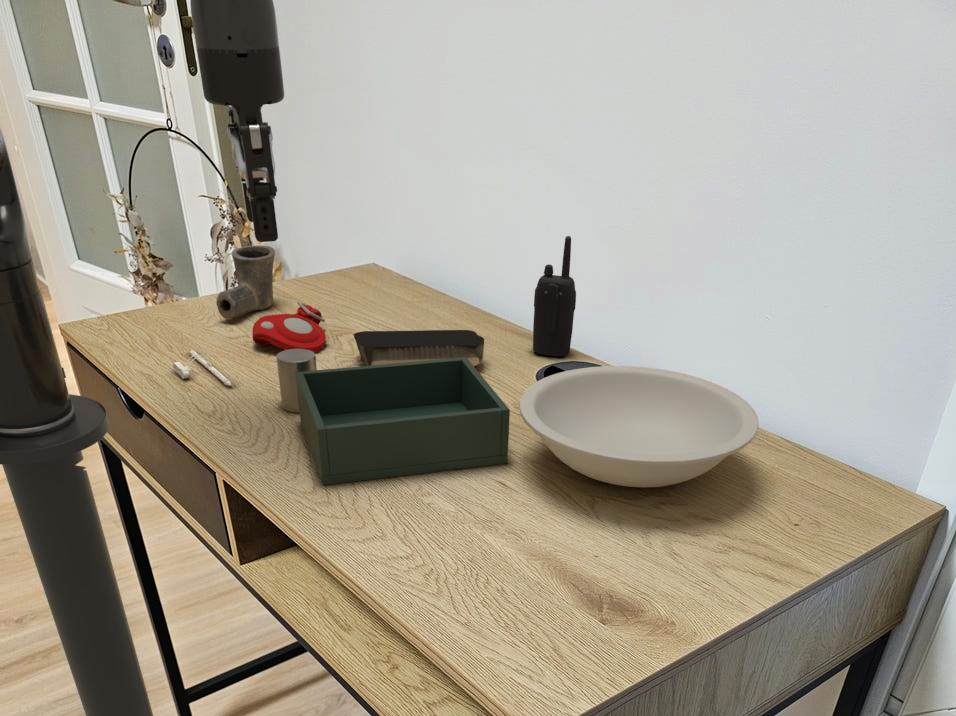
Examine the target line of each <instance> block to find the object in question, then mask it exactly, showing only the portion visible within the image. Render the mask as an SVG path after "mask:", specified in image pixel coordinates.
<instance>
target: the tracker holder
mask: <svg viewBox="0 0 956 716" xmlns="http://www.w3.org/2000/svg"><path fill="white" fill-rule="evenodd" d="M296 304H297V306H298V308H297V310H296V311H297V312H295V313H277V314H276V313H275V314H269V315H263V316H260V317H259V318H258V319H257V320H256V321H255V322H254V323H253V325H252V341H253V342H254V343H255V344H256V345H259V346H266V345H270V344H271V345H274V346H275V347H278V348H280V349H282V350H289V349H306V350H310V351H312V352H314V353H315V354H316V353H318V352H320V351H322V349H324V347H325V343H326V340H327V337H326V332H325V331H324V329H323V328H322V327H321V326H320V324H321V322H322V323H325V322H326V319H325V318H324V317H323V315H322V312H321V311H320V309H318V308H316V307H314V306H312V305H310V304H305V303H303V302H301V301H300V300H298V301H297V302H296Z"/></svg>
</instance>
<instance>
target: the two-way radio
mask: <svg viewBox="0 0 956 716" xmlns="http://www.w3.org/2000/svg"><path fill="white" fill-rule="evenodd" d="M571 253H572V237H571V236H570V235H566V236H565V238H564V245H563V253H562V254H563V255H562V263H561V275H555V274H554V266H553V265H552V264H546V265H545V266H544V269H543V275H541V277H539V279H538V281H537V283H536V287H535V288H534V296H533V298H534V299H533V309H534V310H533V329H532V351H533V352H535V353H536V354H537V355H545V356H554V357H561V358H562V357H564V356H568V355H569V354H570V351H571V344H572V343H571V342H572V335H573V329H574V328H573V327H574V318H575V317H574V316H575V310H576V305H577V291H576V285H575V284H576V283H575V280H574V278H573V277H572V276H570V270H571V258H572V257H571V255H572V254H571Z"/></svg>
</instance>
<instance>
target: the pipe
mask: <svg viewBox="0 0 956 716" xmlns="http://www.w3.org/2000/svg"><path fill="white" fill-rule="evenodd" d="M231 256H232V260H233V265H234V269H235V275H236V282H237V286H236V287H233V288H230V289H226V290H223V291H220V292H219V293H218V294H217V296H216V302H215V303H216V307H217V309H218V313H219V315H221V317H222V318H223V319H227V320H233V319H236V318H239V317H242V316H243V315H246V314H248V313H251V312H254V311H261V310H266V309H268V308H270V307H271V306H272V305H273V302H274V287H273V285H274V284H273V283H274V282H273V275H274V262H275V256H276V250H275V248H273V247H271V246H270V245H260V244H259V245H245V246H241V247H238V248H234V249H233V250H232V251H231Z"/></svg>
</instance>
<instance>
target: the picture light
mask: <svg viewBox="0 0 956 716" xmlns="http://www.w3.org/2000/svg"><path fill="white" fill-rule="evenodd" d="M189 355H190V356H191V357H189V358H188V359H187V362H186V365H185V366H184V365H183V364H182V363H181V362H180V361H176V362H173V364H172V367H173V369H174V372H175V373H177V374H178V375H179V376H180V377H181V378H182V380H184V379H189V378H190V377H191V375H190V373H191V372H192V369H191V365H192V363H193V361H194V360H196V361H198V362H199V363H200V364H201V365H202V366H203V367H204V368H206V370H208V371H209V372H210V373H212V374H213V375H214V376H215V377H216V378H217V379H219V380H220V381H221V382H222V383H223V384H224V385H225V386H227V387H231V386H232V381H231V380H230V379H229V378H227V377H226V376H224V375H223V374H222V373H221V372H220V371H219V370H217V369H216V368H215V367H214V366H213V364H212V363H211V362H210V360H209V359H208V358H206V357H205V356H204V355H202V354H199V353H198V352H196V350H193V349H190V350H189ZM191 359H192V360H191ZM190 360H191V361H190Z"/></svg>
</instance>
